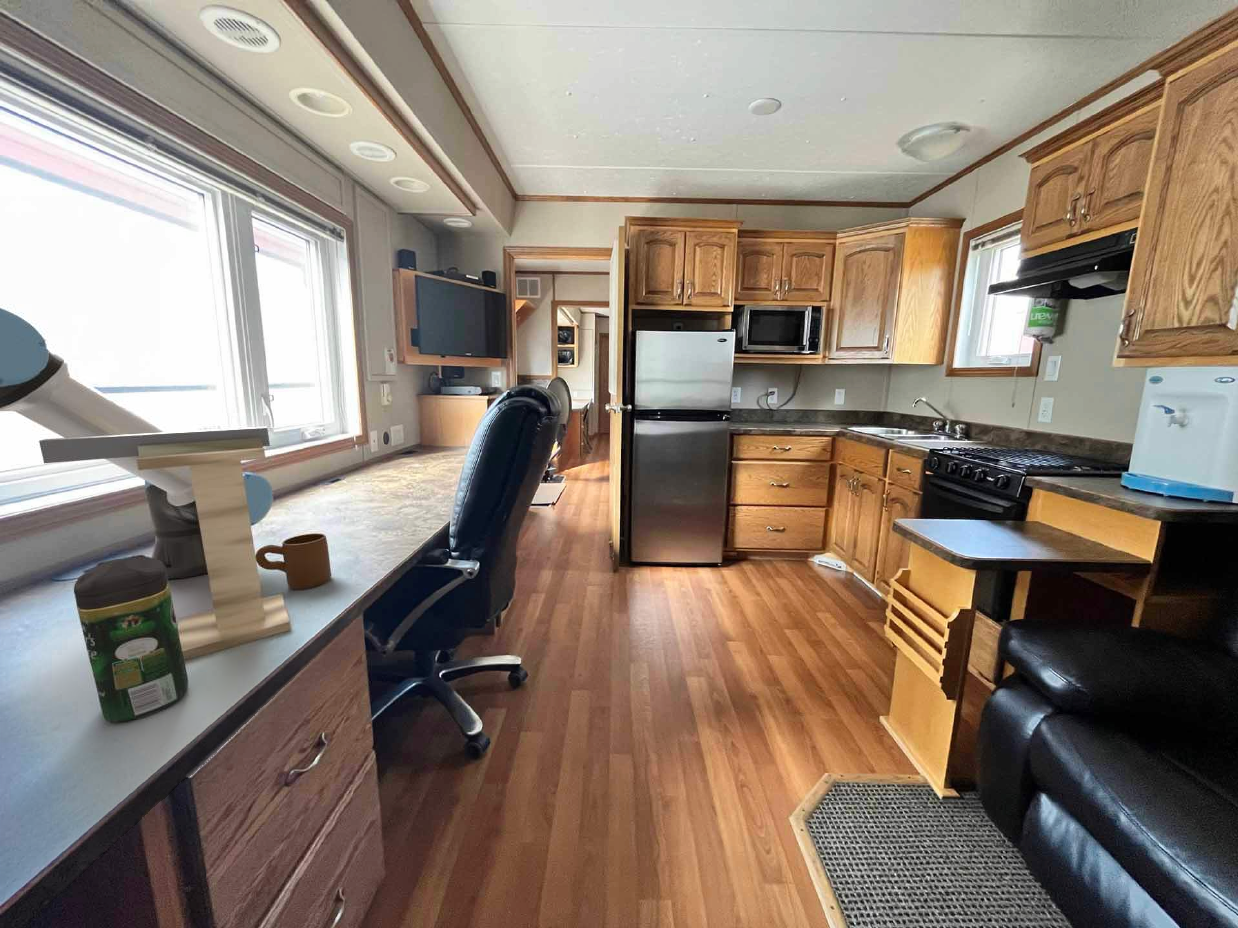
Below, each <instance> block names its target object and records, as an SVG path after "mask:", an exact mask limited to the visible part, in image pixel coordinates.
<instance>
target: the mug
mask: <svg viewBox="0 0 1238 928" xmlns="http://www.w3.org/2000/svg"><path fill="white" fill-rule="evenodd" d="M281 545H282V546H281ZM281 545H275V544H267V545H264V546H263V547H260V548H259V549H258V550H257V551H256V552H255V556H256V562H257V566H259V567H261V568H262V569H264V570H268V571H269V570H270V571H275V570H277V571H281V572H283V573H285V576H286V582H287V586H288V587H289V588H290V589H292V590H296V591H297V590H308V589H312V588H316V587H320V586H322V585H324V584H326V583H328V582H329V581H330V580H331V579H332V578H331V577H332V570H331V562H330V561H331V560H330V553H329V546H328V545H329V544H328V540H327V536H326V535H325V534H323V533H316V532H315V533H306V534H301V535H300V534H299V535H295V536H292V537H288V538H287V539H285V540H283V541H282V543H281ZM266 554H277V555H282V557H283V561H281V560H272V561H271V560H269V559H268V558H266Z"/></svg>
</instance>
